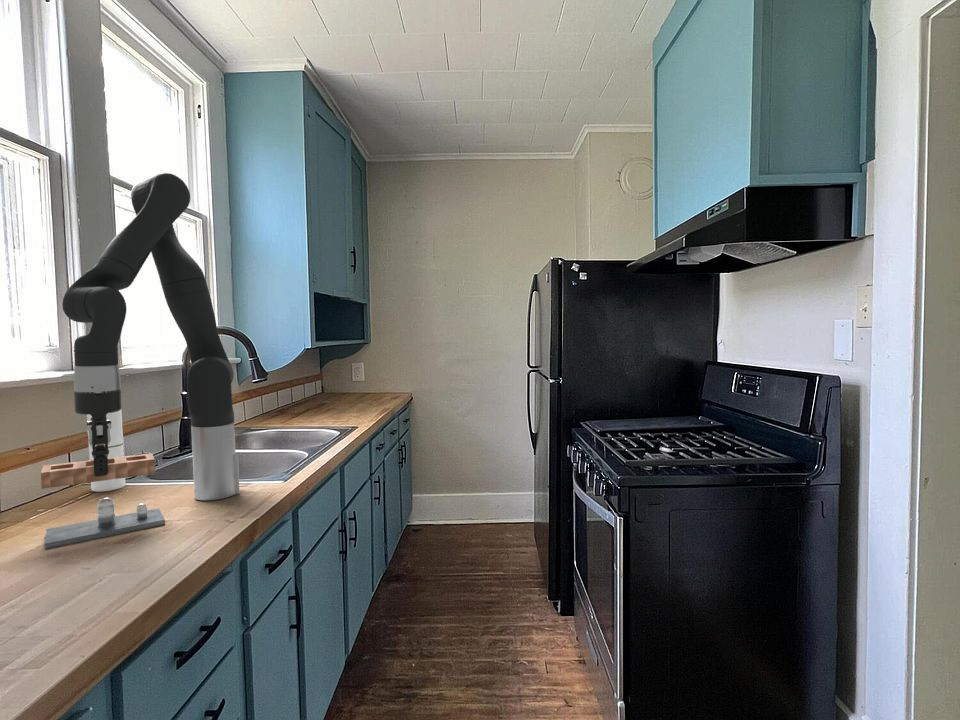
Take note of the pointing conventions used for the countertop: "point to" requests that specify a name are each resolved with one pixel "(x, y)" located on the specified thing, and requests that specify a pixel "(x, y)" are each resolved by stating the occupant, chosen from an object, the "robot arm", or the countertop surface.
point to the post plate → (101, 531)
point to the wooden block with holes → (85, 470)
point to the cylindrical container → (111, 452)
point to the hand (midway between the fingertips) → (101, 471)
